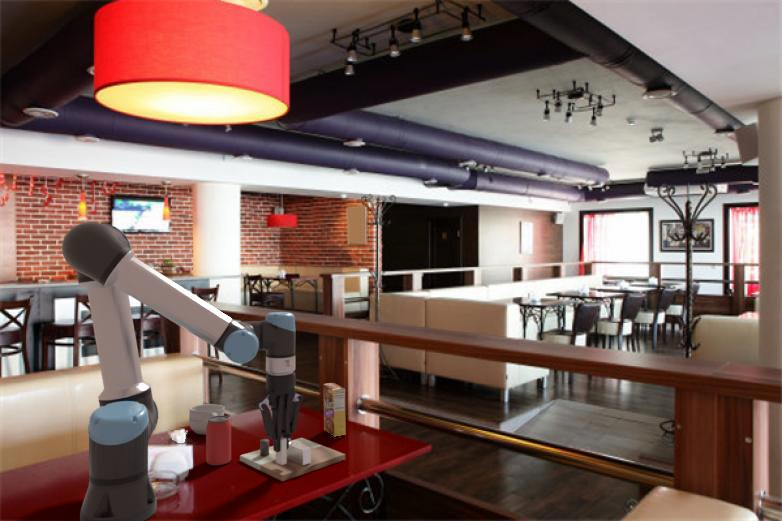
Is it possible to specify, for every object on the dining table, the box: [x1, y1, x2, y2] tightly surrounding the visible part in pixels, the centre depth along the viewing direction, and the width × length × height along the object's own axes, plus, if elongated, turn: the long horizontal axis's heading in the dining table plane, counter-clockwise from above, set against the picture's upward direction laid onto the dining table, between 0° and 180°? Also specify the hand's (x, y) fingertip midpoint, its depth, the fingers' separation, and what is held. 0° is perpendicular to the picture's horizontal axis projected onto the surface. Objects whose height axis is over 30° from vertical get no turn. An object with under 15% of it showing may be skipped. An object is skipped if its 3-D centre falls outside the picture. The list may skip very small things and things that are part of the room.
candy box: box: [323, 382, 347, 438], centre depth 180 cm, size 9×4×15 cm, turn 28°
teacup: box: [188, 403, 226, 435], centre depth 180 cm, size 14×11×8 cm
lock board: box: [239, 437, 346, 482], centre depth 157 cm, size 21×20×6 cm
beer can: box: [205, 415, 232, 466], centre depth 155 cm, size 7×7×12 cm
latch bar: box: [287, 437, 311, 465], centre depth 153 cm, size 10×3×5 cm, turn 46°
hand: (281, 462), depth 147 cm, fingers closed
